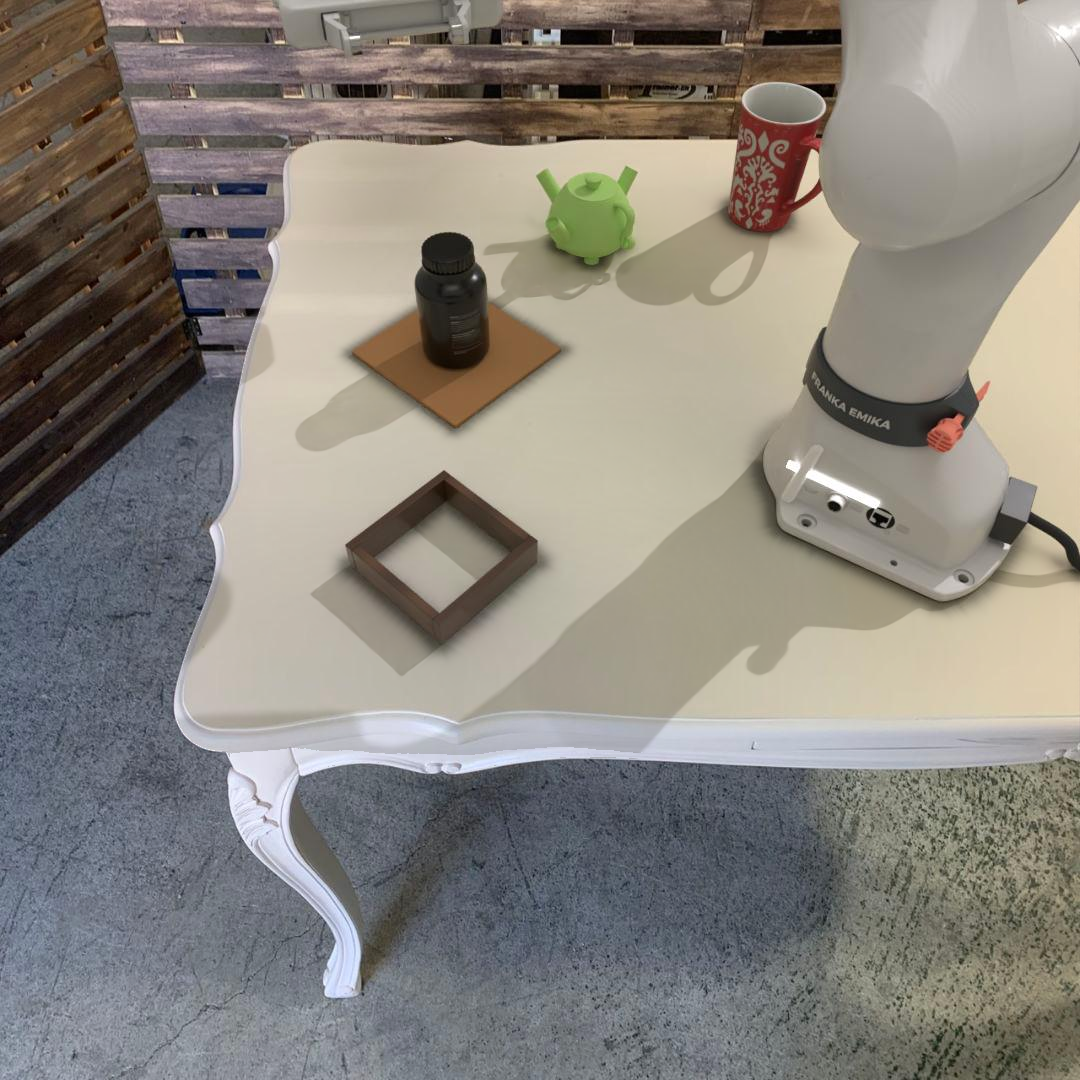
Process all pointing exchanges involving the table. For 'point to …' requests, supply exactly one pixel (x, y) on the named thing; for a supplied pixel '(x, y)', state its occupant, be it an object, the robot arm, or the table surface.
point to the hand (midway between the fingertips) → (407, 42)
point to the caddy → (412, 513)
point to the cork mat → (457, 389)
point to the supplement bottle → (452, 302)
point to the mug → (773, 154)
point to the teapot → (590, 213)
